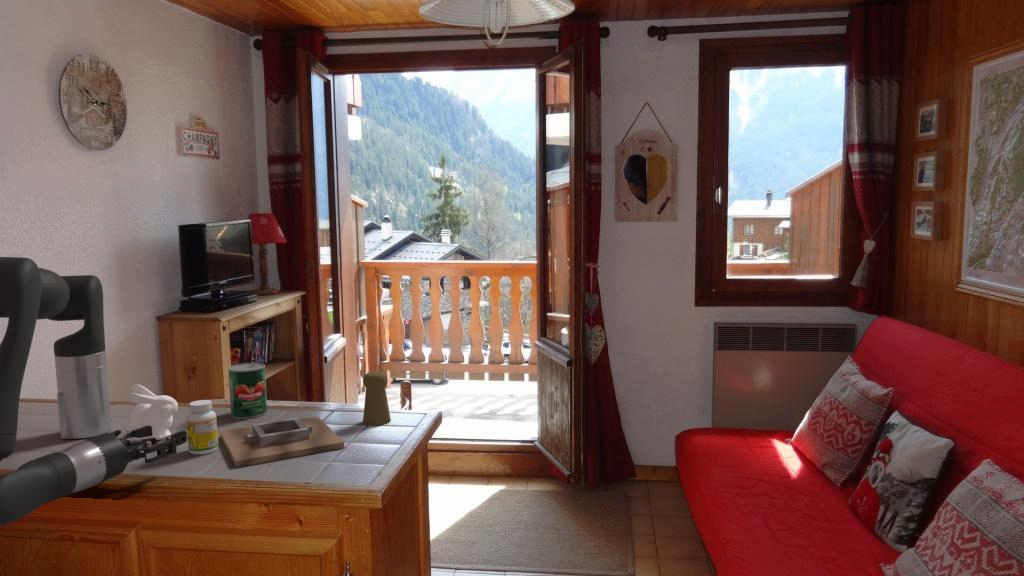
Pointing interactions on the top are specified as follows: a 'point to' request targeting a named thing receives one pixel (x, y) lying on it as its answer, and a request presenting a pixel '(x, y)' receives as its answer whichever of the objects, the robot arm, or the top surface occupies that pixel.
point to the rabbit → (152, 411)
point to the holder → (279, 440)
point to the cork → (375, 399)
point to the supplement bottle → (202, 428)
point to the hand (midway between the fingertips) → (167, 433)
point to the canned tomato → (247, 390)
